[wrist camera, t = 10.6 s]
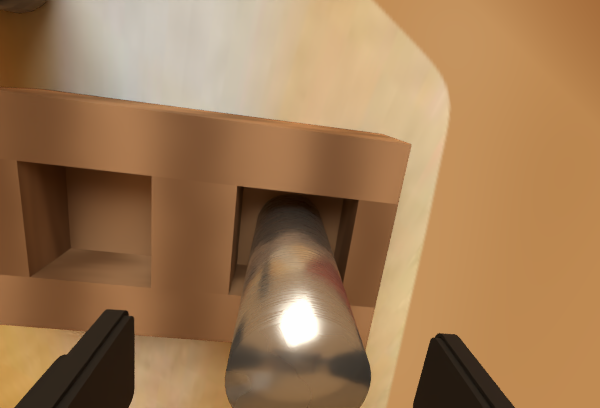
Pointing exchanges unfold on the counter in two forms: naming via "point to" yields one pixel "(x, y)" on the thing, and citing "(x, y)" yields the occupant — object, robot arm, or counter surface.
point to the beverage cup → (20, 5)
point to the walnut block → (173, 209)
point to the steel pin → (295, 319)
